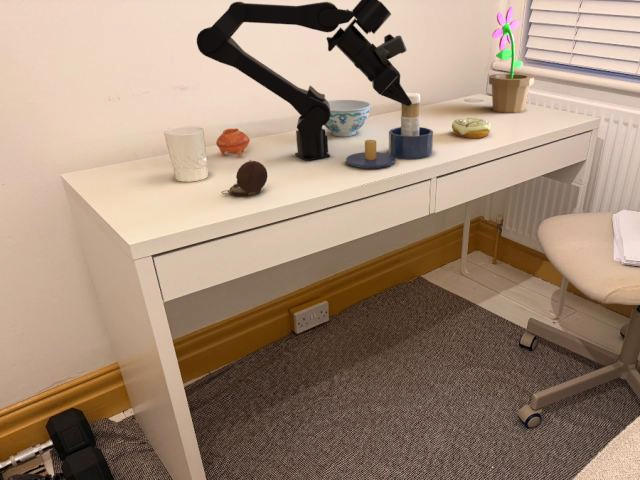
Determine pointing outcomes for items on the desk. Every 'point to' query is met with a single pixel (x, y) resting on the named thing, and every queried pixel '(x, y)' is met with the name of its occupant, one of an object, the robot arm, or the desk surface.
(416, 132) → the sprinkles bottle
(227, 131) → the pot
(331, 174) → the desk surface
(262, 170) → the compass
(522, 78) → the flowerpot
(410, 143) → the tin
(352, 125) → the chinaware
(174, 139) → the white cup
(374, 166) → the tin lid
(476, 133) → the decorated donut
